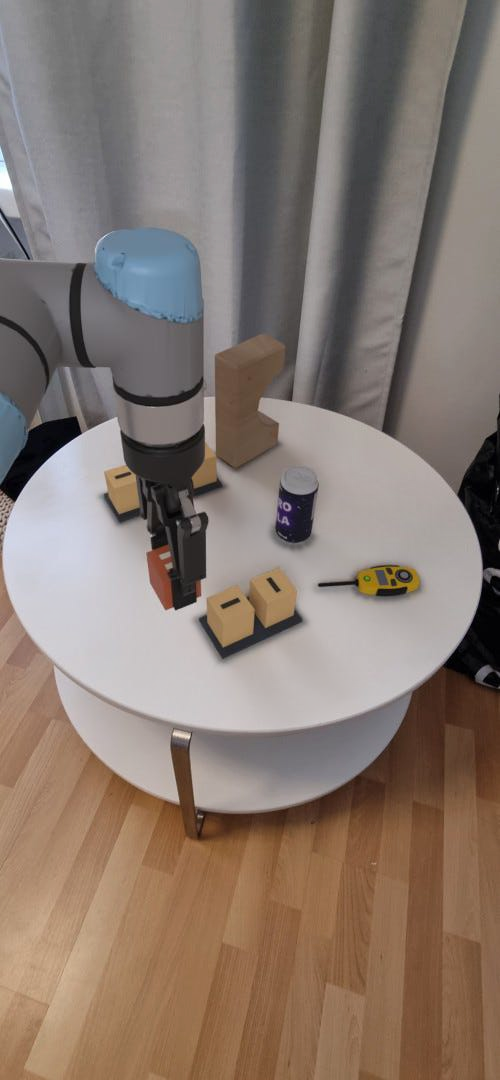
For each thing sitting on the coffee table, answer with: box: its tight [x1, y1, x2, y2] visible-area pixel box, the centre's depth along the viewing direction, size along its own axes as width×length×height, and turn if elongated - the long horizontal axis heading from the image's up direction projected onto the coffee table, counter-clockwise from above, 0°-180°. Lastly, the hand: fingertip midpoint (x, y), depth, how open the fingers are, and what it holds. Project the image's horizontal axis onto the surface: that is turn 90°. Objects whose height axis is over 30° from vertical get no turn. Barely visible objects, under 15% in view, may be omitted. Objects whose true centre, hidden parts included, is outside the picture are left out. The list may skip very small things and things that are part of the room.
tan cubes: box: [103, 441, 224, 523], centre depth 96 cm, size 19×7×6 cm, turn 120°
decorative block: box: [214, 332, 286, 469], centre depth 100 cm, size 11×6×20 cm, turn 133°
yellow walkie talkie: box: [317, 564, 421, 597], centre depth 85 cm, size 5×2×15 cm
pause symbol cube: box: [145, 544, 202, 611], centre depth 67 cm, size 5×5×6 cm
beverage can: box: [275, 464, 320, 544], centre depth 88 cm, size 6×6×12 cm
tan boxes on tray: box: [198, 567, 303, 660], centre depth 79 cm, size 12×7×6 cm, turn 120°
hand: (175, 587), depth 69 cm, fingers closed on pause symbol cube, 5 cm apart
